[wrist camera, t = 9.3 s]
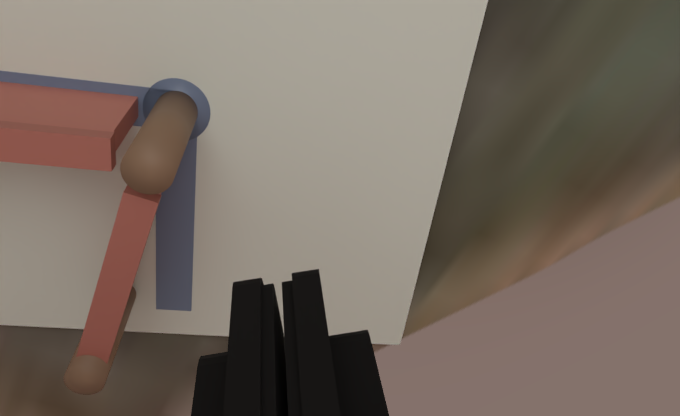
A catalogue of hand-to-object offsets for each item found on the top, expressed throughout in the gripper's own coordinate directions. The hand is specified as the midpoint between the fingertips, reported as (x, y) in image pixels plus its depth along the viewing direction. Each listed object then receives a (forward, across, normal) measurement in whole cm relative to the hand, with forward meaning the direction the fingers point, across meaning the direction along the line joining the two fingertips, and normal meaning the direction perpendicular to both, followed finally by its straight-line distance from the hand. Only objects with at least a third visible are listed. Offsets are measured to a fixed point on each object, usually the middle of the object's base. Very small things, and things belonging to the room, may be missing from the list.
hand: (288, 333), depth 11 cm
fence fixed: (+19, +10, 0) cm, 21 cm away
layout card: (+19, +5, +3) cm, 20 cm away
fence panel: (+18, +8, +7) cm, 21 cm away
